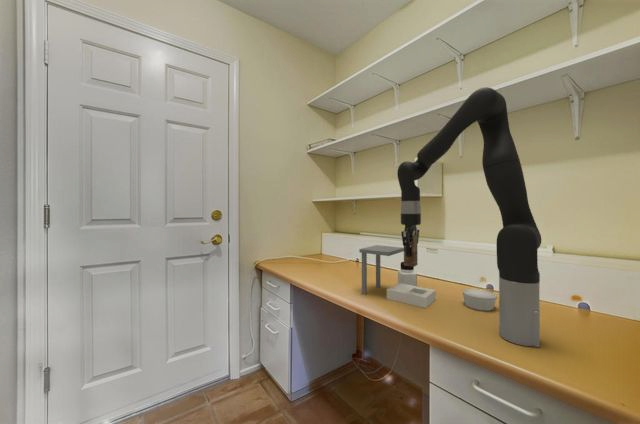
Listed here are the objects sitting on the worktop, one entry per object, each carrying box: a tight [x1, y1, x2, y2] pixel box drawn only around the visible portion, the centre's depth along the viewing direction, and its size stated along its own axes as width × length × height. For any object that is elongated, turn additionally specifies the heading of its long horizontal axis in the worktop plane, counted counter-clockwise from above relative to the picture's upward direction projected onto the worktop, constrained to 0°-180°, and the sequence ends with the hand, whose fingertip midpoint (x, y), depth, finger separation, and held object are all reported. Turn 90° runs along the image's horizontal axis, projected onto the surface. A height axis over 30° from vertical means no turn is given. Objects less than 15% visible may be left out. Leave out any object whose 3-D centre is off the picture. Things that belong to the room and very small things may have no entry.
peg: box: [403, 235, 418, 268], centre depth 101 cm, size 4×4×12 cm
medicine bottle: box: [397, 260, 418, 287], centre depth 124 cm, size 7×7×12 cm
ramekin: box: [461, 288, 498, 312], centre depth 98 cm, size 11×11×5 cm
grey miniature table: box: [358, 244, 404, 296], centre depth 115 cm, size 14×16×20 cm
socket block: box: [386, 282, 437, 309], centre depth 106 cm, size 16×12×4 cm
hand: (410, 255), depth 101 cm, fingers closed on peg, 4 cm apart
